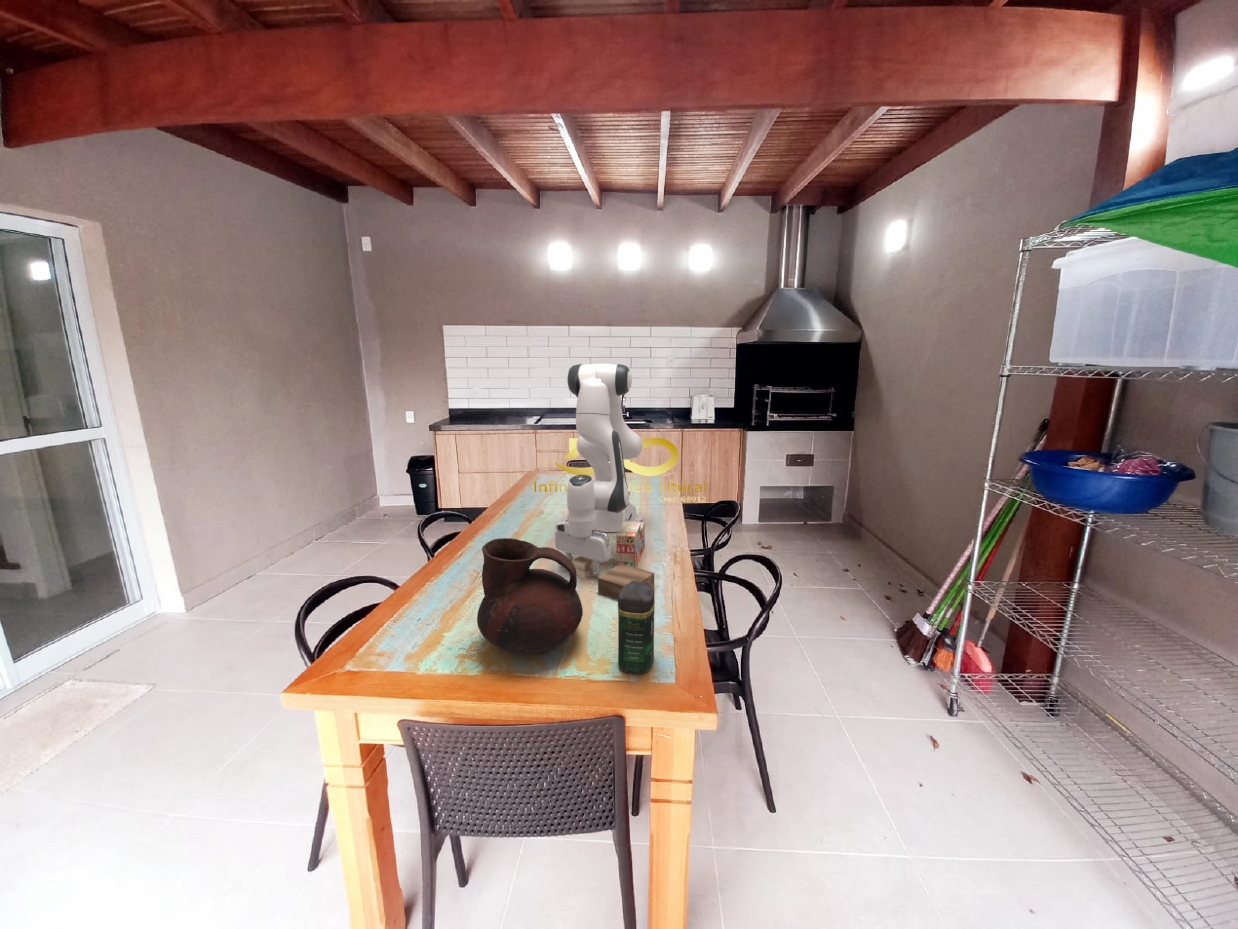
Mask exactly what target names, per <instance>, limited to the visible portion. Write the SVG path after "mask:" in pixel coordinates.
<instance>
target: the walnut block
mask: <svg viewBox="0 0 1238 929" xmlns="http://www.w3.org/2000/svg"><path fill="white" fill-rule="evenodd" d="M631 581H638V582H646V583H649V584H650V585H651V586H652V587H653V589H654V590H655V572H652V571H650V570H646V569H642V568H638V567H636V568H635V567H632V566H628V565H625V564H619V565H618V566H617V565H616V566H614V567H613V568H611V569H610V570H608V571H607V572H605V573H604V574H601V575H600V576H599V577H597V593H598V595H601V596H604V597H607V598H610V599H613V600H616V601H618V596H619V594H620V592H621V590H622V588H623V587H624V586H625V585H626V584H628V583H630V582H631Z"/></svg>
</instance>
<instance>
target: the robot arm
mask: <svg viewBox="0 0 1238 929" xmlns="http://www.w3.org/2000/svg"><path fill="white" fill-rule="evenodd" d="M566 381H567V382H566V383H567V386H568V389H569V391H570V392H571V393H572V394H573V395H575V397H576V398H577V400H576V407H575V408H576V409H575V427H576V431H577V432H578V435H579V436H578V438H577V441H576V451H577V453H578V454H579V455H580V457H581V458H583V459H584V460H585V461H586V462H587V463H588V464H589V465H590V467H591V468H592V470H593V473H594V478H595V479H593V478H592V476H590V475H588V474H577V475H574V476H572V477H571V478H569V480H568V483H567V490H566V491H567V492H566V506H567V510H568V515H567V519H565V520H562V521H560V522H557V523H556V524H555V530H556V531H555V533H554V535H555V537H554V544H555V548H556V550H558V551H560V552H564V555H565V556H566V557H567V558H569V559H570V560H571V561H572V560H574V559H575V558H574V556H573V555H575V556H577V557H579V556H581V557H585V558H588V559H592V560H594V566H592V567H591V569H592V570H591V571H592V572H594V573H595V574H596V573H598V572H599V566H600V565H601V563H603V564H605V563H606V562H608V561H609V560H610V559H611V558H612V549H611V543H610V537H609V536H608V534H606V533H618V531H619V530H620V528H621V526H622V524H623V522H640V521H641V520H642V521H643V517H641V516H640V515H638V514H637V508H636V506H635V505H634V504H633V503H631V502H630V495H631V492H630V490H629V487H628V483H627V478H626V470H625V462H624V460H632V459H636V458H638V457H639V456H640V454H641V453H642V451H643V441H642V438H641V436H640V435H639V434H638V433H636V432H634V431H633V430H632V429H631V427H629V426H628V425H627V423H626V422H625V419H624V417H623V416H624V415H623V410H622V399H621V398H622V397H621V396H624V395H626V394H627V393H628V392H630V388H631V386H632V384H633V383H632V382H633V378H632V374H631V370H630V368H629V367H628V366H627V365H625V364H621V363H618V364H615V363H603V362H602V363H601V362H599V363H587V364H582V363H579V364H574V365H571V367H570V368H569V370H568V374H567V377H566ZM642 521H641V522H642Z"/></svg>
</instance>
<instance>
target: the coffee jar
mask: <svg viewBox="0 0 1238 929" xmlns="http://www.w3.org/2000/svg"><path fill="white" fill-rule="evenodd" d="M617 614H618V618H617V619H618V620H617V621H618V622H617V623H618V624H617V625H618V629H617V630H618V635H617V636H618V637H617V638H618V639H617V640H618V644H617V645H618V646H617V648H618V649H617V651H618V652H617V654H618V655H617V665H618V667H619V669H620V670H621V671H624V672H626V673H629V674H635V675H636V674H637V675H639V674H645V673H647V672H649V671H650V669H651V667H652V665H653V662H654V658H655V588H654V589H653V587H652V586H651V585H650V584H649V583H646V582H638V581H631V582H630V583H628V584H626V585H625V586H624V587H623V588H622V590H621V592H620V594H619V596H618V600H617Z"/></svg>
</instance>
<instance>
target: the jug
mask: <svg viewBox="0 0 1238 929" xmlns="http://www.w3.org/2000/svg"><path fill="white" fill-rule="evenodd" d="M481 551H482V555H483V564H482V569H481V570H482V572H481V583H482V588H483V594H484V596H483V598H482V600H481V602H480V604H479V606H478V610H477V616H476V618H477V619H476V623H477V628H478V630H479V632H480V634H481V635H482V636H483V638H484V639H485V640H486V641H488V642H489V643H490V644H492V645H494V646H495V647H497V648H499V649H501V650H503V651H506V652H509V653H512V654H519V655H520V654H521V655H533V654H534V655H535V654H539V653H540V654H541V653H544V652H549V651H550V650H553V649H555V648H557V647H559V646H560V645H562V644H564V643H565V642H566V641H568V639H570V638H571V636H572V635H573V634H574V633H575V632H576V630H577V629H578V628H579V625H580V624H581V623H582V622H581V621H582V619H583V614H584V613H583V605H582V602H581V601H582V600H581V598H580V595H579V593H578V591H577V586H578V577H577V576H576V568H575V566H574V564H573V563H572V561H571V560H570V559H569V558H567V557H566V555H565V553H563V552H562V551H560V550H558V549H557V548H556V549H555V548H553V547H544V546H543V547H542V546H541V547H538V546H536V545H535V544H533V543H531V542H529V541H526V540H520V539H517V538H510V537H509V538H508V537H502V538H494V539H491V540H490V541H488V542H485V544H484V545H483V546H482V548H481ZM540 559H546V560H552V561H553V562H555V563H557V564H559V566H561V567H562V568H563V569H564V570H566V572H568V574H569V580H568V579H566V578H565V577H564V576H562V575H561V574H559V573H557V572H554V571H551V570H548V569H544V568H531V567H532V565H533V563H534V562H535V561H537V560H540Z"/></svg>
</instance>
